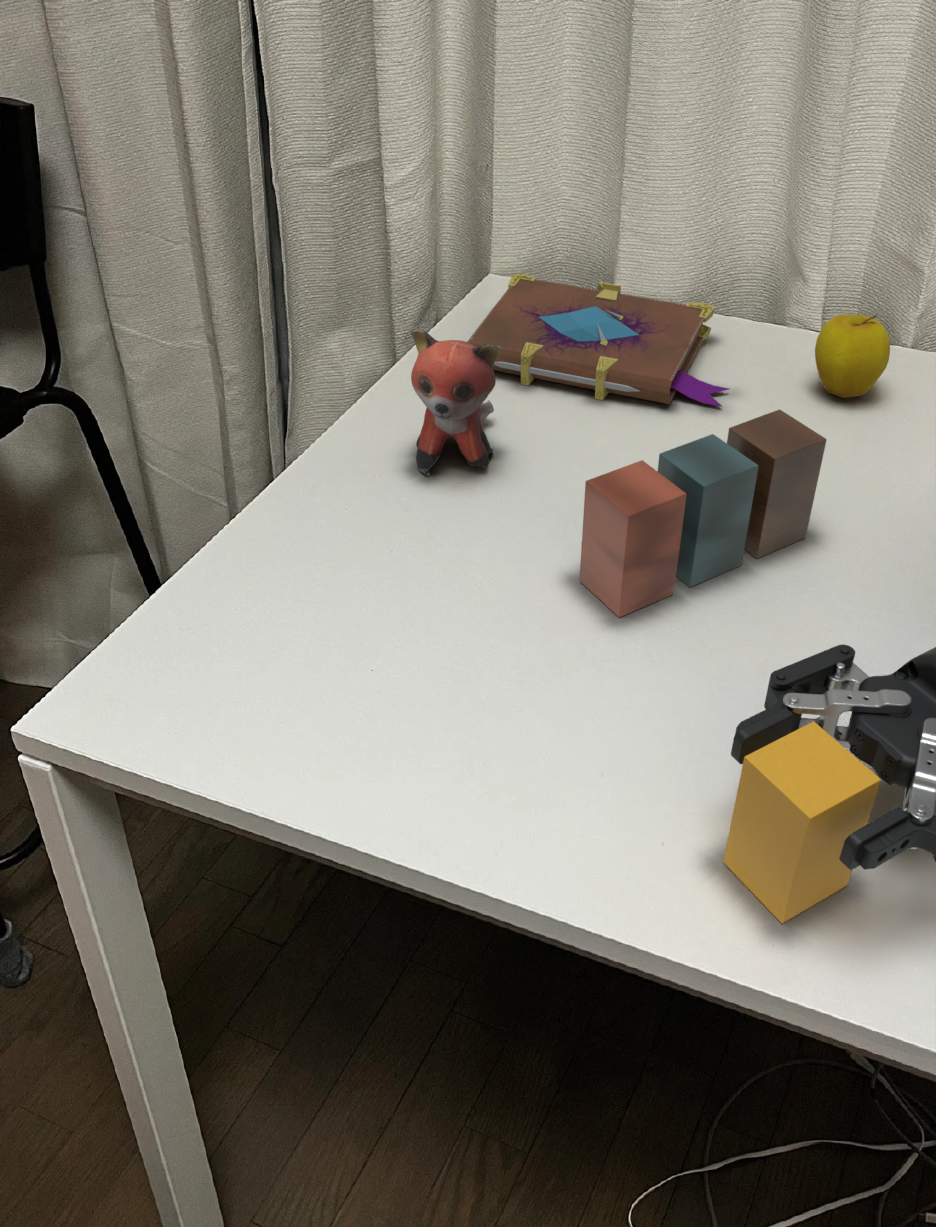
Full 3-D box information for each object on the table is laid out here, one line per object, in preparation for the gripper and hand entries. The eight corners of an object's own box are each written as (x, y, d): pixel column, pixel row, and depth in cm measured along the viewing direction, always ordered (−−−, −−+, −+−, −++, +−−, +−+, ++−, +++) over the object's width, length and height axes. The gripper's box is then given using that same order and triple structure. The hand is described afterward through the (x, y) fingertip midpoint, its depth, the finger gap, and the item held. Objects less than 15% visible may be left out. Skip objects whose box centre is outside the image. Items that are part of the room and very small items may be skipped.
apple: (892, 404, 108) (913, 323, 103) (827, 413, 107) (844, 332, 102) (859, 370, 113) (877, 291, 107) (796, 379, 112) (811, 299, 106)
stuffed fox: (520, 421, 106) (522, 296, 99) (492, 492, 98) (492, 361, 90) (438, 412, 108) (433, 287, 100) (404, 481, 99) (396, 351, 92)
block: (787, 826, 71) (813, 720, 65) (848, 885, 68) (882, 779, 62) (722, 862, 69) (743, 756, 63) (782, 924, 66) (810, 818, 60)
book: (715, 430, 106) (721, 381, 103) (459, 379, 114) (457, 332, 110) (756, 339, 117) (763, 293, 114) (520, 298, 125) (520, 254, 121)
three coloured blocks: (762, 506, 96) (779, 408, 90) (805, 538, 93) (827, 438, 87) (578, 581, 89) (585, 480, 83) (619, 618, 86) (628, 516, 80)
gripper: (920, 574, 72) (711, 670, 66) (1127, 718, 63) (906, 846, 57) (892, 665, 77) (695, 763, 71) (1081, 811, 68) (872, 939, 61)
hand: (789, 800), depth 64 cm, fingers open, 8 cm apart
